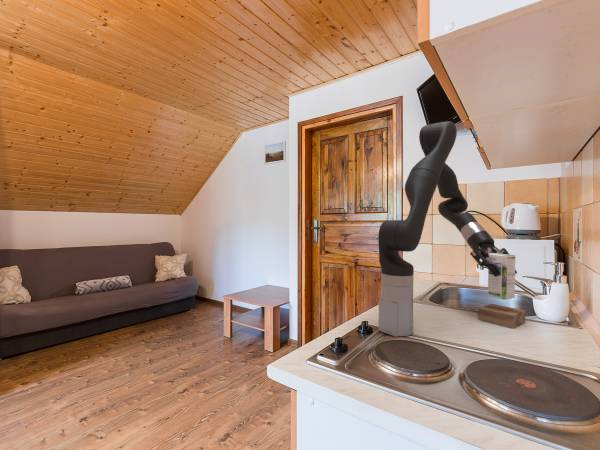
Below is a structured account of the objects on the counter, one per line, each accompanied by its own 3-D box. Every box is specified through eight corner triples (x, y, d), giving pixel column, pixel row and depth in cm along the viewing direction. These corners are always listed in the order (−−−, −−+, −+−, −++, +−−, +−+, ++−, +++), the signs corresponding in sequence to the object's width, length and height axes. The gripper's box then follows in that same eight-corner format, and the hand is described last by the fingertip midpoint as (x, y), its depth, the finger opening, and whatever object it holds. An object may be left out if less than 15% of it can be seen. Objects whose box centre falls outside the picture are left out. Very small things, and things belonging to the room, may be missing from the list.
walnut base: (513, 328, 90) (513, 315, 90) (478, 319, 98) (478, 308, 98) (525, 322, 96) (525, 310, 96) (491, 314, 104) (491, 303, 104)
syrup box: (486, 296, 99) (487, 253, 99) (497, 294, 101) (498, 252, 101) (504, 300, 94) (505, 255, 93) (515, 298, 96) (516, 254, 96)
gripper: (466, 229, 102) (496, 268, 91) (498, 229, 106) (531, 267, 95) (454, 243, 108) (481, 282, 96) (485, 243, 111) (515, 280, 100)
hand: (506, 274), depth 96 cm, fingers closed on syrup box, 6 cm apart
